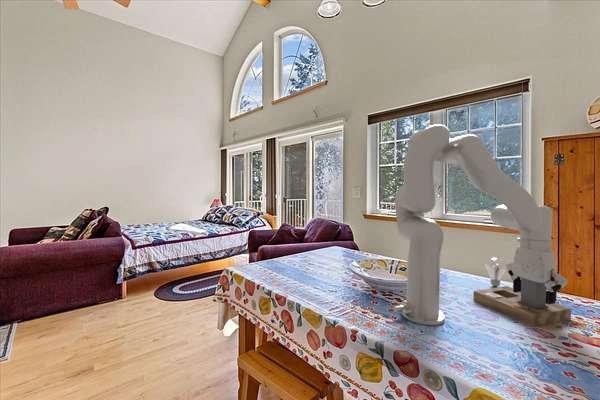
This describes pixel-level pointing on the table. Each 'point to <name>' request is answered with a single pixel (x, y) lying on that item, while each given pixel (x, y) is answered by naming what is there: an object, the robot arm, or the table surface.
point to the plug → (533, 294)
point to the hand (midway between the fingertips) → (533, 297)
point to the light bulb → (495, 270)
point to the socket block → (520, 307)
